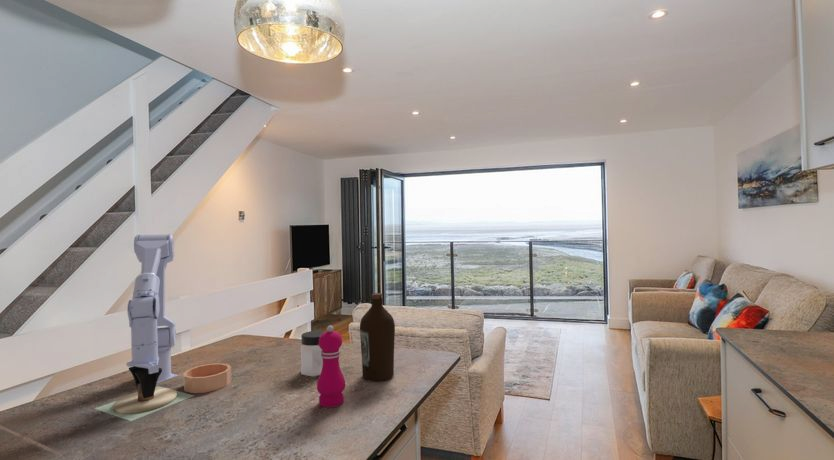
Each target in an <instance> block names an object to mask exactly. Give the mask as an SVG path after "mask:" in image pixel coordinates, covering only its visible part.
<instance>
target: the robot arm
mask: <svg viewBox="0 0 834 460" xmlns="http://www.w3.org/2000/svg"><path fill="white" fill-rule="evenodd" d="M133 252H134V253H135V256H136V258H137V260H138V262H139V263H141V267H140V269H141V272H140V273H141V274H140V275H138V276H137V277H135V281H134V287H133V292H132V298H131V299H129V300H128V302H127V309H126V310H127V317H128V323H129V328H130V336H131V337H130V338H131V341H130V343H131V344H130V345H131V361H128V362H126V363H125V365H126V367H128V371H129V372H130V374H131V375H132V377H133V380H134V383H135V386H136V390H137V391H136V392H138V384H139V383H140V385H141V390H142V395H143V397H144V398H148V397H151V396H153V395H154V392H155V387H157V384H158V383H160V382H164V381H167V380H170V379H172V378H176V377H178V376H179V375H178V374H176V373H172V356H171V355H172V353H171V352H172V348H174V347H175V345H176V342H177V332H176V331H177V330H176V323H175V322H174V320H172V319H171V318H169V317H167V316H166V268H167V265H168V263H172V262H173V261H174V258H175V239H174V235H173V234H171V233H169V234H136V235H135V236H134V238H133ZM163 326H164V327H163Z"/></svg>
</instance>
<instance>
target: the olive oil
mask: <svg viewBox="0 0 834 460" xmlns="http://www.w3.org/2000/svg"><path fill="white" fill-rule="evenodd" d="M383 299H384V298H383V293H380V292H377V293H371V299H370V301H371V302H370V303H371V307H369V309H368V310H367V311H366V312H365V313H364V314H363V316H362V317H361V319H360V323H359V335H360V336H359V338H360V349H361V350H360V351H361V352H360V353H361V365H362V378H363V379H364V380H366V381H369V382H384V381H385V382H386V381H388V380H391V379H392V378H393V377H394V375H395V372H394V371H395V370H394V367H395V360H394V359H395V333H396V332H395V331H396V324H395V321H394V317H393V316H392V315H391V314H390V312H389V311H388V310H387V309H386V308H385V307H384V306H383V305H384V304H383Z"/></svg>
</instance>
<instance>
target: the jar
mask: <svg viewBox="0 0 834 460" xmlns="http://www.w3.org/2000/svg"><path fill="white" fill-rule="evenodd" d="M325 332H326V330H311V331H306V332H303V333H302V334H301V344H300V367H301V368H300V369H301V370H300V373H301V375H303V376H306V377H312V378H314V377H317V376H320V374H321V371H322V367H323V358H322V357H321V351H322V349H321V348H320V347H319V338H320V336H321V335H322V334H323V333H325Z"/></svg>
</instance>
